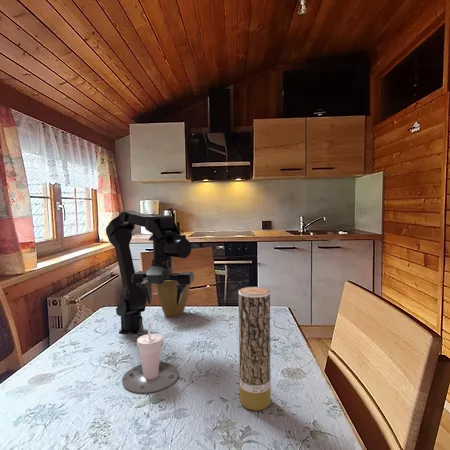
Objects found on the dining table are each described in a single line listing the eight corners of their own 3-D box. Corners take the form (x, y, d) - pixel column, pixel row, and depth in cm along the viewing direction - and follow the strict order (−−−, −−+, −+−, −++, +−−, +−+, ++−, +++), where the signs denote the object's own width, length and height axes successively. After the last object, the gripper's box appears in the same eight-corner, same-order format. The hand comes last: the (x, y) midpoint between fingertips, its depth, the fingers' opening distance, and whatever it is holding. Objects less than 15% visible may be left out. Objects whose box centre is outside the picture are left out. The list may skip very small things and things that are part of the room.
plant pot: (148, 318, 122) (147, 278, 122) (166, 307, 137) (165, 271, 136) (182, 322, 118) (181, 280, 117) (197, 310, 132) (197, 273, 131)
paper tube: (273, 396, 71) (272, 288, 69) (267, 415, 64) (266, 296, 63) (244, 391, 73) (243, 286, 72) (236, 408, 66) (234, 293, 65)
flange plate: (111, 391, 74) (111, 388, 74) (136, 362, 87) (136, 359, 87) (168, 395, 72) (168, 392, 72) (185, 365, 85) (184, 362, 85)
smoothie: (136, 383, 76) (134, 327, 75) (139, 369, 82) (138, 318, 82) (162, 381, 77) (161, 325, 76) (164, 368, 83) (163, 316, 82)
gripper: (122, 259, 91) (124, 311, 91) (184, 259, 88) (185, 313, 89) (138, 253, 102) (139, 300, 102) (194, 254, 99) (195, 302, 100)
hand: (163, 304), depth 98 cm, fingers open, 9 cm apart
